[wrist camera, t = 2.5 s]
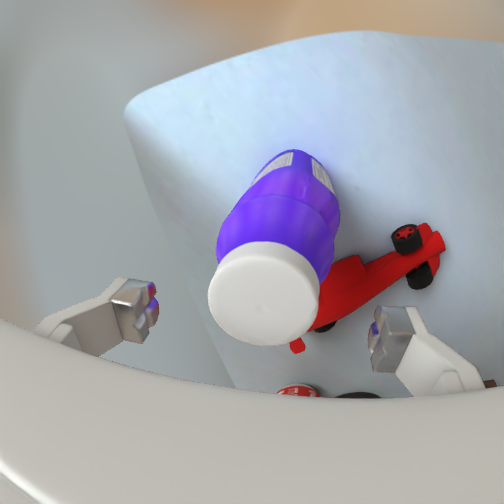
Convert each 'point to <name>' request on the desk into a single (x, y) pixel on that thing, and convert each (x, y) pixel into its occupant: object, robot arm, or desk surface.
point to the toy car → (376, 276)
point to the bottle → (276, 252)
